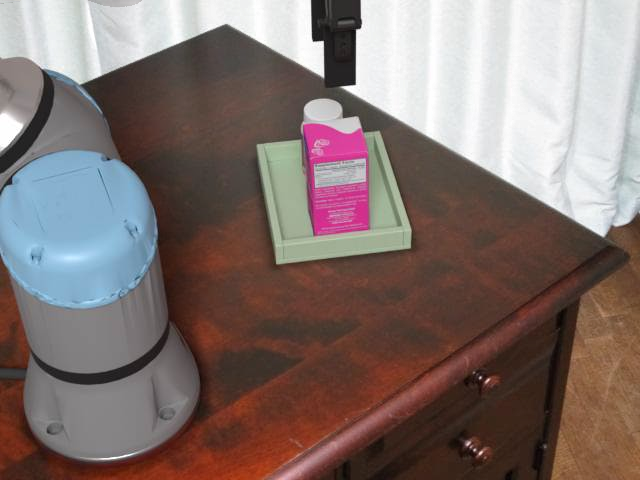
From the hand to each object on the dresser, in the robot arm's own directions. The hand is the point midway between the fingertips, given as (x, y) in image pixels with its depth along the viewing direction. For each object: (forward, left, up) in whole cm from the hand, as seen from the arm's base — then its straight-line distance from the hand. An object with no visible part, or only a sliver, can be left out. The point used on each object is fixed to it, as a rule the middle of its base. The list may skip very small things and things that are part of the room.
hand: (333, 60), depth 104 cm
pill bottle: (0, +9, -20) cm, 22 cm away
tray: (0, +4, -20) cm, 21 cm away
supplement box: (0, 0, -20) cm, 20 cm away
